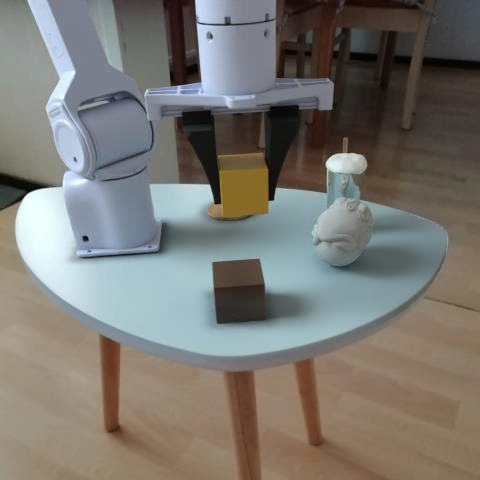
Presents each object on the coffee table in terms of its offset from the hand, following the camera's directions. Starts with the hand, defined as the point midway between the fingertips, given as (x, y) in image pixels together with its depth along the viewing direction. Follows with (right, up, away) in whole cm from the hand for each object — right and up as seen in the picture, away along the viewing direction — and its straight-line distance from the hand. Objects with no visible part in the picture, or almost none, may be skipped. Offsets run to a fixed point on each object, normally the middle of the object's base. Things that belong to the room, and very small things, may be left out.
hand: (243, 198), depth 44 cm
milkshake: (+12, 0, +17) cm, 21 cm away
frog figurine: (+11, -5, +10) cm, 15 cm away
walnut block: (0, -10, +4) cm, 10 cm away
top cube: (0, -1, 0) cm, 1 cm away
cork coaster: (-2, +4, +22) cm, 22 cm away
